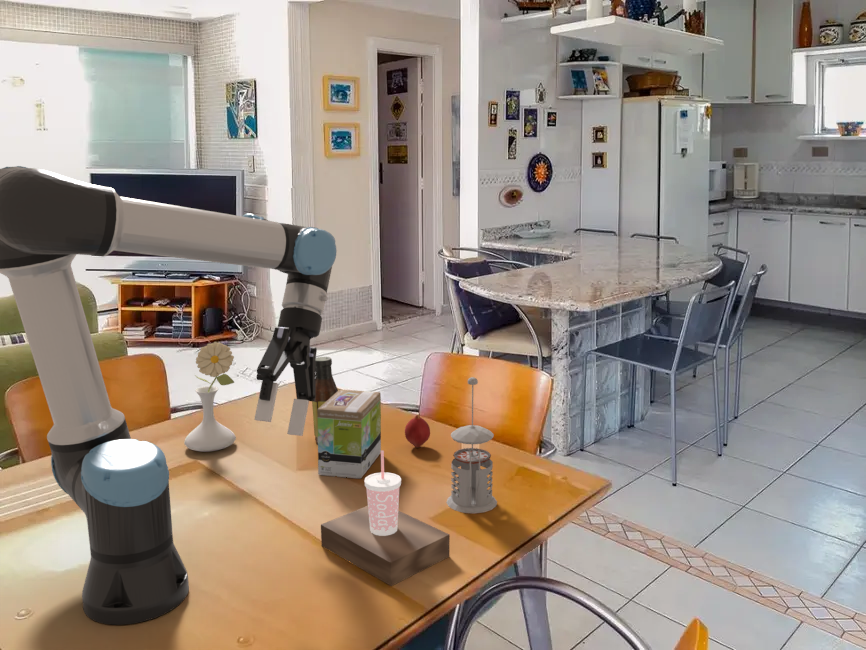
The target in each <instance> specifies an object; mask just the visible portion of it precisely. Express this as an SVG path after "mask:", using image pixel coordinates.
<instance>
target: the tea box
mask: <svg viewBox="0 0 866 650" xmlns="http://www.w3.org/2000/svg"><path fill="white" fill-rule="evenodd" d="M381 395H382V394H381V392H380V391H368V390H357V389H356V390H354V389H353V390H351V389H338V391H337V392H336V393H335V394H334V395H333V396H332V397H331V398H330V399H328V400H327V401H326V402H325V403H324V404H323V405H322V406H320V407H319V408H318V442H317V469H318V470H317V475H318V476H324V477H325V476H328V477H335V476H337V478H346V477H347V478H349V479H362V478H363V476H364V475H365V474H366V473H367V471H368V470H369V469H370V468H371V466H372V465H373V464H374V463H375V461H376V459H377V458H378V457H379V455H381V451H382V445H381V444H382V431H381V430H382V424H381V423H382V414H381V413H382V412H381V411H382V408H381V407H382V405H381V404H382V400H381V399H382V398H381ZM347 478H346V479H347Z"/></svg>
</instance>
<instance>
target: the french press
mask: <svg viewBox="0 0 866 650" xmlns="http://www.w3.org/2000/svg"><path fill="white" fill-rule="evenodd" d="M478 383H479V381H478V379H477V377H473V376H471V377H469V378H468V379H467V384H468V385H471V424H469V425H468V424H467V425H465V426H460V427H458V428H456V429H455V430H453V431H452V432H451V433H450V437H451V438H452V440H453V441H455V442H456V443H459V444H465V445H471V447H467V448H464V447H463V448H461V449H457V450H456V451H455V452H453V457H454V458H452V461H451V464H450V465H451V467H450V468H451V469H452V471H451V476H452V477H451V480H450V481H451V482H452V483H451V490H450V491H451V492H450V493H451V494H450V496H448V497H447V500H446V504H447V506H448V507H449V508H450V509H452V510H454V511H455V512H456V511H457V512H458V513H459V512H460V513H463V514H480V513H486V512H489V511H492V510H493V509H494V508H496V507H497V504H498V501H497V499H496V497H495V496H493V467H494V466H493V464H494V463H493V460H492V459H491V458H492V457H491V456H492V454H491V453H490V452H489V451H487V450H486V449H482V448H477V447H474V445H482V444H484V443H488V442H490V441H491V440H492V439H493V438H494V435H495V434H494V433H493V431H491V430H489V429H487V428H485V427H483V426H480V425H474V386H475V385H478ZM482 467H483V468H482ZM456 481H457V482H456ZM488 482H489V483H488Z"/></svg>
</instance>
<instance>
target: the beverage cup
mask: <svg viewBox="0 0 866 650" xmlns="http://www.w3.org/2000/svg"><path fill="white" fill-rule="evenodd" d="M384 454H385V451H384V449H383V450H382V449H381V453H380V470H381V471H380V472H375V473H371V474H369V475H367V476H366V477H365V478H364V480H363V481H364V487H365V488H366V497H367V499H366V501H367V506H368V512H369V523H370V531H371V533H373V534H375V535H379V536H387V535H391V534H394V533H395V532H396V531H397V527H398V511H399V502H400V501H399V500H400V487H401V484H402V478H401V476H400V475H398V474H396V473H392V472H385V458H384V457H385V455H384Z"/></svg>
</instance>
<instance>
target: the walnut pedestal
mask: <svg viewBox="0 0 866 650" xmlns="http://www.w3.org/2000/svg"><path fill="white" fill-rule="evenodd" d="M320 538H321V539H320V540H321V547H322V546H323V548H324V549H325V550H327V551H329V550H330V552H331V553H333V554H335V555H336V554H337V555H336V556H338V555H339V556H338V557H340V558H342V559H343V558H344V560H345V559H346V560H345V561H347V560H348V561H347V562H349V561H350V562H351V563H350V562H349V563H350V564H352V563H353V564H352V565H354V566H355V565H356V566H355V567H358V569H359V568H360V569H361V570H363V571H364V572H366V573H368V574H369V575H372V576H373V577H375V578H377V579H378V580H380V581H382V582H383V583H384V584H386V585H389V587H392V586H394V585H396V584H398V583H400V582H402V581H403V580H406V579H408V578H410V577H412V576H414V575H416V574H417V573H420V572H422V571H424V570H426V569H427V568H430V567H431V566H434V565H436V564H438V563H439V562H442V561H443V560H445V559H447V558H449V557H450V534H449V533H448V532H445V531H443V530H440V529H438V528H437V527H434V526H432V525H431V524H428V523H426V522H423V521H422V520H419V519H417V518H415V517H413V516H412V515H409V514H406V513H404V512H402V511H400V510H398V527H397V531H396V532H395V533H394V534H391V535H387V536H379V535H375V534H373V533H371V531H370V523H369V512H368V505H365V506H363V507H361V508H359V509H356V510H354V511H351V512H348V513H345V514H343V515H341V516H339V517H336V518H334V519H331V520H328V521H327V522H324V523H321V524H320Z"/></svg>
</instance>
